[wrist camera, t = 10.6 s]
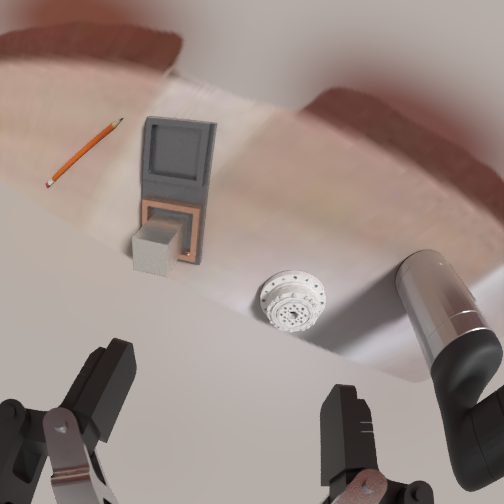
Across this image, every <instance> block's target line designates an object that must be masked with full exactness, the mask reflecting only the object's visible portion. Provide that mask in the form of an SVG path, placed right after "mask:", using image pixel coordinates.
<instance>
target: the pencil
mask: <svg viewBox="0 0 504 504" xmlns="http://www.w3.org/2000/svg"><path fill="white" fill-rule="evenodd" d="M122 119H123V118H122ZM122 119H120V120H118V121H115V122H113V123H112V124H110V125H109V126H108V127H107V128H105V129H104V130H103V131H102V132H101V133H99V134H98V135H97V136H96V137H95V138H94V139H92V140H91V141H90V142H89V143H88V144H87V145H86V146H84V147H83V148H82V149H81V150H80V151H79V152H78V153H77V154H76V155H75V156H73V157H72V158H71V159H70V160H69V161H68V162H67V163H66V164H65V165H64V166H63V167H62V168H61V169H60V170H59V171H58V172H57V173H56V174H55V175H54V176H53V177H52V178H51V179H50V180H49V181H48V182H47V183H46V186H47V187H50V186H51V185H52V184H53V183H54V182H55V181H56V180H57V179H58V178H59V177H60V176H61V175H62V174H63V173H64V172H65V171H66V170H67V169H68V168H69V167H70V166H71V165H72V164H74V163H75V162H76V161H77V160H78V159H79V158H80V157H81V156H82V155H84V154H85V153H86V152H87V151H88V150H89V149H90V148H92V147H93V146H94V145H95V144H96V143H97V142H99V141H100V140H101V139H102V138H103V137H105V136H106V135H107V134H108V133H110V132H111V131H112V130H113V129H115V128H116V126H117V125H118V124H119V123H120V122H121V120H122Z"/></svg>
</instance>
